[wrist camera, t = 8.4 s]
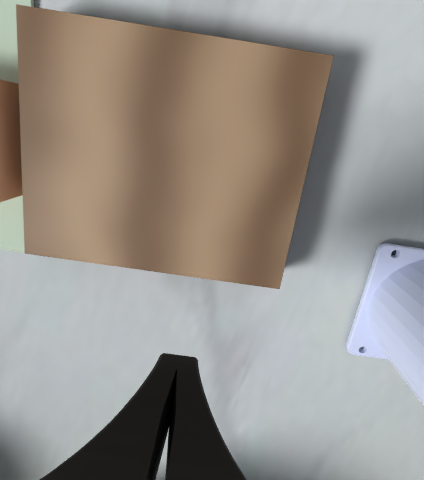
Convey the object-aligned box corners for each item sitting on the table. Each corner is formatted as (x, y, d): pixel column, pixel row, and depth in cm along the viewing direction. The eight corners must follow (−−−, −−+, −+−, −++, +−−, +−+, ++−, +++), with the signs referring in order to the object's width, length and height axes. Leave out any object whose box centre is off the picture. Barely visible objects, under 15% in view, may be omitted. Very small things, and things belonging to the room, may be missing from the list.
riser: (317, 66, 18) (333, 55, 15) (272, 271, 21) (279, 289, 19) (44, 21, 17) (16, 4, 15) (46, 239, 21) (24, 253, 18)
